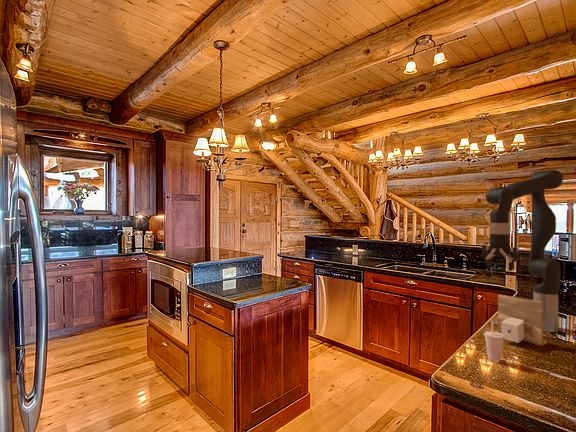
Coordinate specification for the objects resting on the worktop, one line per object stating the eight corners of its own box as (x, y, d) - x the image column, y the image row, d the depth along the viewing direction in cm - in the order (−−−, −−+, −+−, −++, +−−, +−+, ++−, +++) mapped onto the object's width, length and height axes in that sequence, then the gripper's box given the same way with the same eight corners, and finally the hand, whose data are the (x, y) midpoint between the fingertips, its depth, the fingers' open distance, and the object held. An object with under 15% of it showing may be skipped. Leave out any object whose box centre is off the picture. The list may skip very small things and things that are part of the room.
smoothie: (485, 355, 124) (485, 318, 124) (505, 359, 120) (505, 322, 120) (482, 360, 119) (482, 323, 119) (503, 365, 115) (503, 326, 115)
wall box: (510, 332, 141) (509, 316, 140) (526, 336, 136) (525, 320, 135) (500, 338, 136) (500, 322, 136) (517, 343, 131) (516, 326, 131)
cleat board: (504, 332, 149) (504, 293, 148) (546, 343, 135) (546, 300, 135) (495, 336, 144) (495, 295, 144) (538, 348, 130) (538, 303, 130)
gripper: (521, 233, 140) (521, 270, 140) (486, 232, 151) (486, 266, 152) (514, 234, 135) (514, 272, 136) (478, 232, 147) (478, 268, 147)
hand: (499, 269), depth 144 cm, fingers open, 8 cm apart
